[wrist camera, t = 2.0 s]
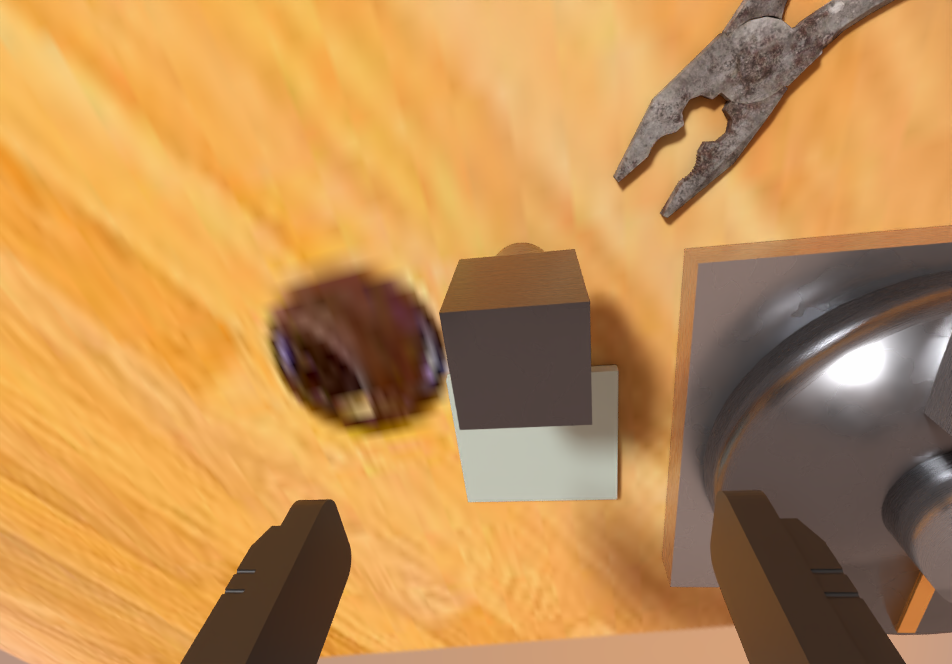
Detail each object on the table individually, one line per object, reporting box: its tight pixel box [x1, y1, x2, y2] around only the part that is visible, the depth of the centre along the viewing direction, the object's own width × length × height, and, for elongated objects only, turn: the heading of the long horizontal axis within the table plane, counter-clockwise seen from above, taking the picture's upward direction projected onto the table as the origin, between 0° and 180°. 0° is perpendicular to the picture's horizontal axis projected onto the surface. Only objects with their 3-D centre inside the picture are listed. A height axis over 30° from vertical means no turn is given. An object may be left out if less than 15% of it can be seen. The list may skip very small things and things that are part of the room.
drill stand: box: [662, 225, 952, 587], centre depth 24 cm, size 21×21×2 cm
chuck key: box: [439, 243, 592, 430], centre depth 19 cm, size 4×4×9 cm
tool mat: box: [446, 365, 618, 502], centre depth 27 cm, size 9×9×1 cm
